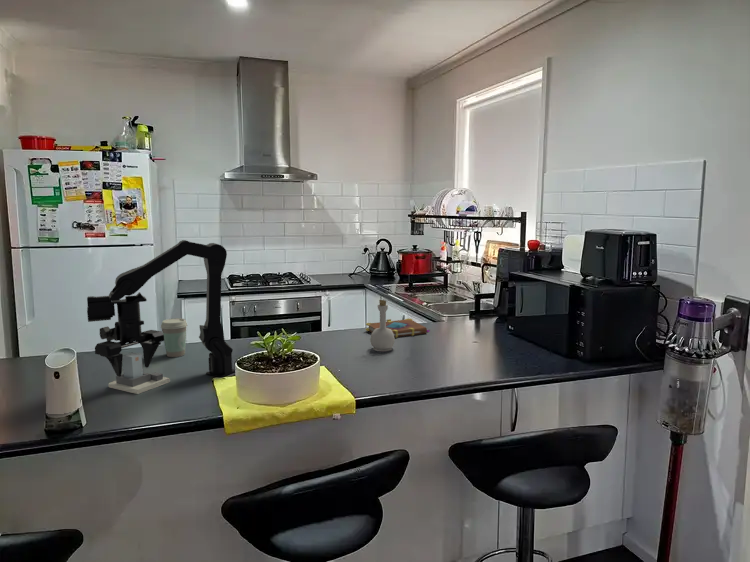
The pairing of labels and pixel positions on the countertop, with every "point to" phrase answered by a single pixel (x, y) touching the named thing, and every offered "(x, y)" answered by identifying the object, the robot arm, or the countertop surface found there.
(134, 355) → the plug
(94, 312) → the robot arm
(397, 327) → the book
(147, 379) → the board
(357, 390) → the countertop surface
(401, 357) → the countertop surface
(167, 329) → the coffee cup
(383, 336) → the potion bottle
